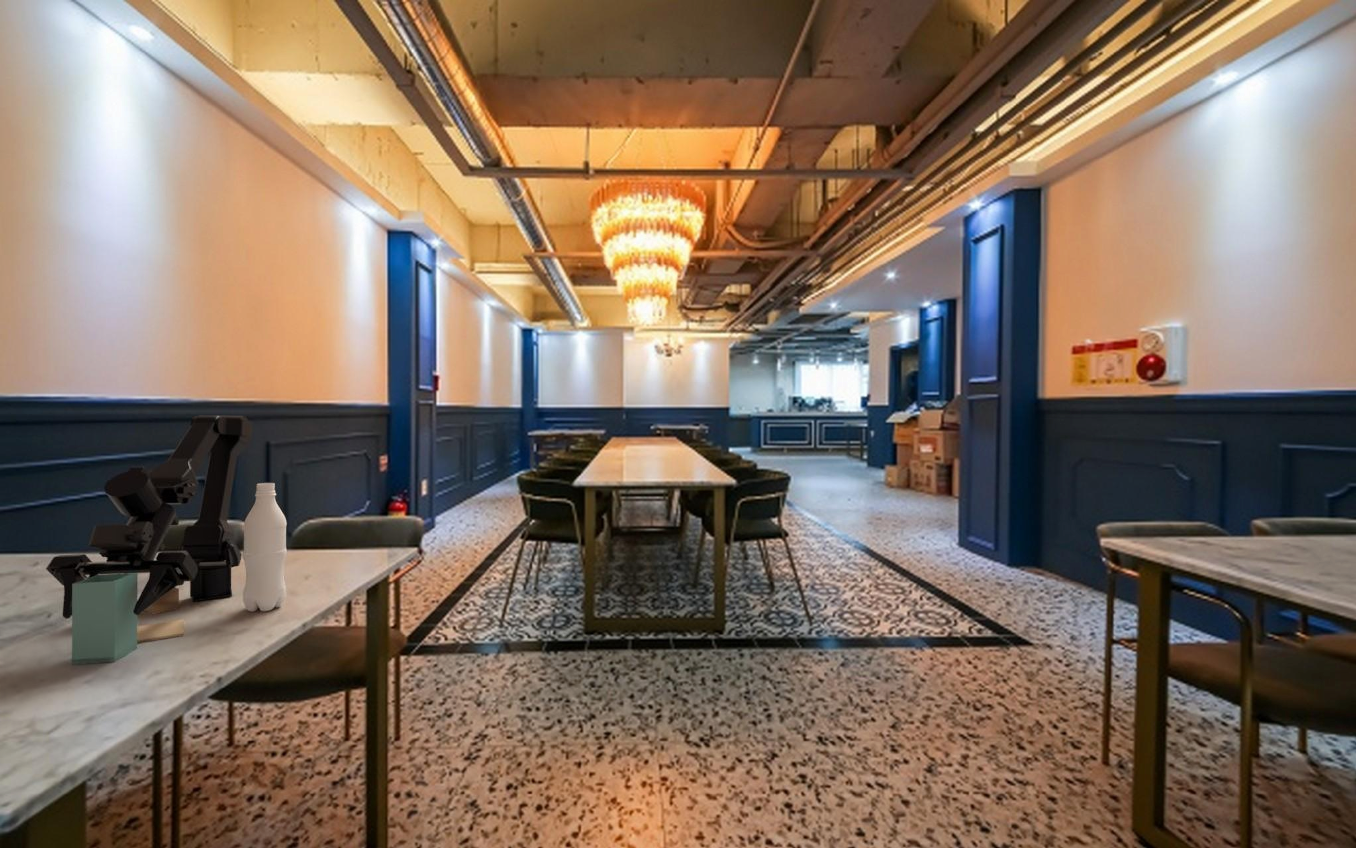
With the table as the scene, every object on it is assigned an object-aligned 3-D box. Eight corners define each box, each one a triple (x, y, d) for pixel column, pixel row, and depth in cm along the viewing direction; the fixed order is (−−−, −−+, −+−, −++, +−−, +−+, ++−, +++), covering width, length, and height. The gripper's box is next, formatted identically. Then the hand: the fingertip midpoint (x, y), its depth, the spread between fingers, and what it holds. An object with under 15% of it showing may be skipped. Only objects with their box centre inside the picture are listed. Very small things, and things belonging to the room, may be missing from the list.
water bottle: (264, 615, 116) (265, 486, 116) (233, 612, 118) (234, 485, 117) (294, 604, 123) (295, 482, 123) (265, 601, 125) (266, 481, 124)
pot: (97, 651, 98) (97, 574, 98) (137, 648, 99) (137, 573, 99) (71, 664, 92) (72, 583, 92) (114, 661, 94) (115, 582, 93)
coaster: (184, 621, 112) (184, 619, 112) (183, 635, 105) (183, 633, 105) (118, 631, 106) (118, 629, 106) (113, 647, 99) (113, 644, 99)
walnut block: (170, 605, 122) (170, 585, 122) (178, 608, 120) (178, 588, 119) (145, 610, 118) (145, 590, 118) (153, 614, 116) (153, 593, 116)
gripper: (55, 505, 97) (-4, 593, 87) (189, 503, 102) (148, 586, 91) (89, 544, 105) (39, 628, 94) (212, 540, 109) (178, 620, 99)
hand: (100, 615), depth 94 cm, fingers open, 9 cm apart
